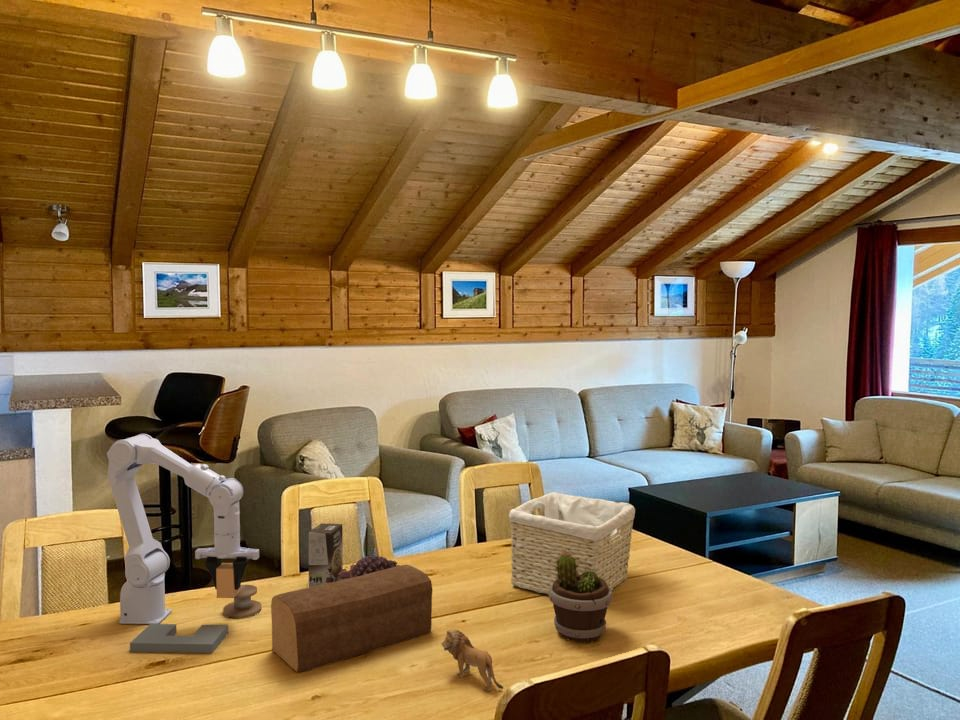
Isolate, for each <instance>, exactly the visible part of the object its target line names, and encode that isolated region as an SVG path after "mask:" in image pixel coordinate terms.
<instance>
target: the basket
mask: <svg viewBox="0 0 960 720" xmlns="http://www.w3.org/2000/svg"><path fill="white" fill-rule="evenodd" d="M536 510H537V512H538V515H537V514H536V515H535V514H532V513H533V512H534V511H536ZM635 514H636V508H635V507H634V505H632V504H631V503H628V502H622V501H620V502H616V501H612V500H606V499H602V498H594V497H593V498H592V497H584V496H582V495H580V496H578V495H570V494H565V493H559V492H556V491H554V492H553V491H552V492H549V493H546V494H544V495H542V496H540V497H537V498H534V499H530V500H528V501H526V502H524V503H522V504H520V505H519V506H517V507H515V508H512V509H510V511H509V515H508V518H509V522H510V529H511V531H510V535H511V536H510V537H511V539H510V540H511V541H510V542H511V543H510V545H511V549H510V550H511V563H510V565H511V570H510V572H511V576H510V577H511V578H510V583H511V585H512V586H514V587H518V588H520V589H523V590H526V589H527V590H530V591H533V592H536V593H540V594H545V595H549V588H550V586H551V585H552V584H553V583H554V581H555V580H556V579H558V578H555V577H556V575H555V574H557V575H558V573H557V572H558V571H555V570H554V569H555V567H557V565H556V564H557V563H556V562H557V560H559V558H560V556H562V553H563V552H564V553H567V552H569V553H570V552H571V551H572V552H571V554H572V555H570V556H572V557H574V559H575V558H576V559H577V560H575V561H576V564H577V565H578V567H577V568H576V571H577V570H578V572H579V573H578V574H577V575H581V574H582V573H584V572H585V570H586V571H589V569H591V570H592V569H595V571H596V572H595V571H594V570H592V571H593V572H595V573H596V574H597V576H598V577H599V578H602V579H604V580H605V582H606V583H607V585H608V587H610V588H611V590H612V591H613V590H614V589H615V587H617V586H620V585H621V583H622V582H624V581H626V580H627V579H628V570H629V569H628V568H629V560H630V555H631V554H630V552H631V542H632V532H633V525H634V520H635V517H636V516H635ZM565 549H566V550H565ZM561 551H562V552H561ZM565 551H566V552H565ZM559 555H560V556H559ZM567 555H568V554H567ZM557 556H559V557H557ZM555 561H556V562H555ZM579 565H580V566H579ZM591 566H592V567H591ZM588 567H589V568H588ZM590 567H591V568H590ZM587 568H588V569H587ZM556 569H557V568H556ZM583 570H584V571H583Z"/></svg>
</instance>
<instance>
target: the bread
mask: <svg viewBox="0 0 960 720" xmlns="http://www.w3.org/2000/svg"><path fill="white" fill-rule="evenodd" d="M432 603H433V583H432V580H431V578H430V577H429V575H428V574H427V573H425V572H424V571H422V570H420V569H419V568H416V567H415V566H412V565H410V564H402V565H400V566H396V567H393V568H389V569H385V570H381V571H377V572H373V573H369V574H366V575H362V576H357V577H353V578H348V579H344V580H340V581H336V582H331V583H325V584H321V585H318V586H313V587H309V586H308V587H305V588H300V589H297V590H291V591H287V592H282V593H279V594H276V595H274V596H273V597H271V604H270V609H271V615H270V616H271V642H272V643H271V650H272V651H273V652H274V653H275V654H276V655H278V656H279V657H280V658H281V659H282V660H283V661H285V663H287V664H288V665H289V666H290V667H291V668H292V669H293V670H294V671H295V672H297V673H299V674H300V673H302V672H307V671H310V670H314V669H316V668H317V669H318V668H319V667H323V666H326V665H329V664H333V663H336V662H338V661H343V660H346V659H351V658H353V657H356V656H360V655H363V654H366V653H369V652H373V651H376V650H379V649H384V648H386V647H390V646H393V645H396V644H398V643H402V642H405V641H408V640H412V639H414V638H417V637H421V636H424V635H427V634H430V633H431V632H432V627H433V626H432V625H433V623H432V621H433V620H432V610H433V608H432V607H433V606H432V605H433V604H432Z"/></svg>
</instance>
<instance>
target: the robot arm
mask: <svg viewBox="0 0 960 720" xmlns="http://www.w3.org/2000/svg"><path fill="white" fill-rule="evenodd" d="M106 456H107V459H108V466H107V468H108V469H107V479H108V483H109V486H110V490H111V494H112V496H113V499H114V503H115V505H116V509H117V512H118V515H119V519H120V522H121V525H122V528H123V529H122V530H123V531H124V534H125V539H126V542H127V544H128V549H127V550H126V553H125V556H124V562H125V563H124V564H125V569H124V570H125V571H124V575H125V580H126V582H124V584H123V585H122V586H121V588H120V594H119V603H120V604H119V609H120V610H119V611H120V620H119V622H118V623H119V624H128V625H129V624H130V625H132V624H133V625H138V624H139V625H150V624H161V622H162V621H164V620H165V618H166V617H167V616H168V615H170V613H172V611H173V609H171V608H166V593H165V592H166V589H165V586H166V585H165V576H166V572H167V570H168V569H169V568H170V564H171V563H170V562H171V559H170V556H169V554H168V553H167V552H166V551H165V550H164V548H163V546H162V542H160V541H158V540H157V539H155V538H154V537H153V535H152V534H153V533H152V531H151V528H150V524H149V520H148V517H147V514H146V510H145V507H144V504H143V501H142V497H141V495H140V491H139V488H138V484H137V481H136V478H135V476H136V475H137V473H138V472H139V470H140V468H141V467H142V465H144V464H156V465H158V466H160V467H161V468H164V469H165V470H168V471H170V472H172V473H174V474H176V475H177V476H179V477H181V478H183V480H184V484H185V485H186V486H187V487H189V488H191V489H192V490H193V491H196V492H197V493H199V494H201V495H203V496H204V497H206V498H208V501H209V503H210V505H211V506H212V508H213V530H214V533H213V537H214V539H213V540H214V545H213V546H214V547H204V548H203V547H202V548H199V547H198V548H196V550H194V551H195V552H194V553H195V554H194V559H195V560H200V559H206V561H205V562H204V566H205V567H206V569H207V570H208V572H209V574H210V576H211V578H212V581H213V585H214V590H216V591H217V583H216V568H217V567H219V566H220V565H221V564H222V563H223V559H235V560H234V561H233V562H232V563H233V568H234V576H235V582H234V585H235V590H238V589H239V588H240V586H241V585H242V579H243V576H244V572H245V570H246V568H247V565H248V563H249V561H250V560H253V561H254V560H255V561H256V560H259V558H260V549H259V548H249V547H248V548H247V547H242V546H241V544H240V543H241V536H240V535H241V534H240V533H241V523H240V522H241V521H240V514H241V511H240V500H241V499H242V497H244V487H243V485H242V483H241V482H240V481H238V480H237V478H234V477H229V478H226V476H225V475H223V474H222V475H221V474H218V473H217V472H215V471H214V470H212V469H210V468H209V467H210V466H209V465H208V464H205V463H203V464H201V463H196V464H191V463H190V462H188V461H187V460H186V459H184V458H183V457H180V456H179V455H178V454H177V453H174V452H173V451H171V450H170V449H169V448H167V447H166V446H164V445H162V443H161V442H160V440H159V439H158V438H153V437H152V436H151V435H149V434H147V433H139V434H137V435H135V436H131V437H127V438H125V439H117V440H116V441H115V442H114V443H113V444H112V445H111V447H110V448H109V449H108V451H107V452H106Z"/></svg>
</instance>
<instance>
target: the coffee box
mask: <svg viewBox="0 0 960 720" xmlns="http://www.w3.org/2000/svg"><path fill="white" fill-rule="evenodd" d="M343 546H344V545H343V524H342V523H323V522H321V523H320V524H319V525H317V526H315V527H314V528H313V529H311V530H309V531H308V588H309V587H313V586H318V585H321V584H325V583H331V582H336V581H340V580H342V579H341V578H340V576H337V574H339V573H341V571H342V570H343V565H344V564H343V550H344V549H343Z"/></svg>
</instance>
